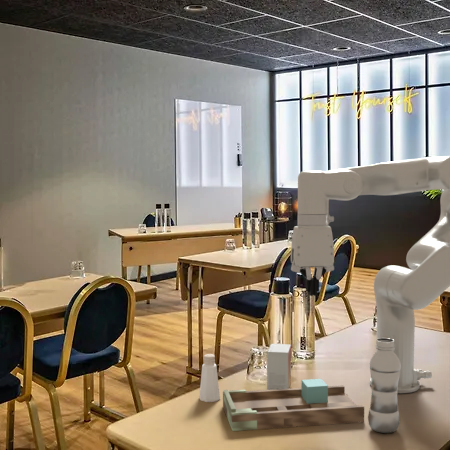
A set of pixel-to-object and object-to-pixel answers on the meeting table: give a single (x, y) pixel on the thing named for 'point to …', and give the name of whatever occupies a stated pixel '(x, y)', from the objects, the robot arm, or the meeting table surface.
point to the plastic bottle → (384, 387)
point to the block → (314, 391)
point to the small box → (279, 366)
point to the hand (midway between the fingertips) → (312, 294)
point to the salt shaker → (209, 380)
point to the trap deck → (287, 409)
